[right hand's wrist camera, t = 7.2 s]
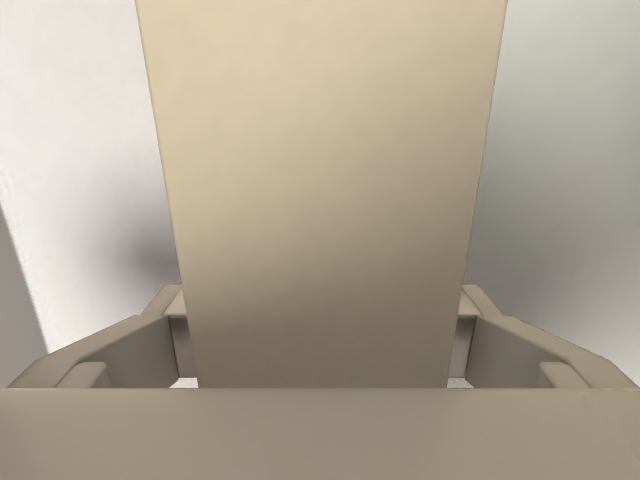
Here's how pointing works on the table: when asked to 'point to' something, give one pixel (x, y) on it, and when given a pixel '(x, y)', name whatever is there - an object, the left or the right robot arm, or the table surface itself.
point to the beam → (321, 180)
